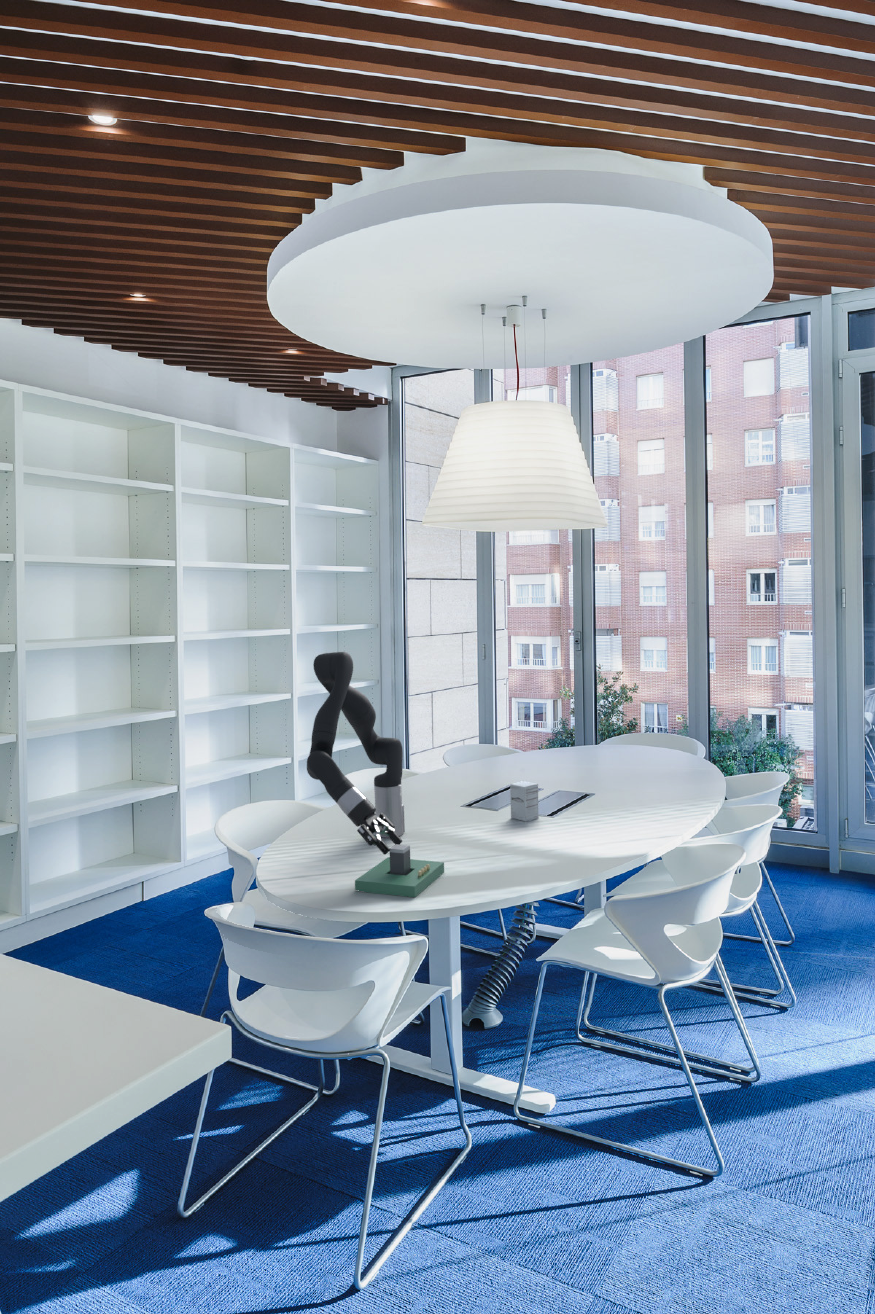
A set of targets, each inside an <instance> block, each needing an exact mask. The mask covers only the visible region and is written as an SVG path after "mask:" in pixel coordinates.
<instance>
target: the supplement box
mask: <svg viewBox="0 0 875 1314" xmlns="http://www.w3.org/2000/svg"><path fill="white" fill-rule="evenodd" d="M509 787H510V819H514V820H518V821H522V822H530V821H533V820H536V819H538V818H539V817H540V815H539V814H540V813H539V784H538V783H536V782H531V781H530V782H529V781H527V780H526V781H525V780H521V781H517V782H513V783H510V786H509Z"/></svg>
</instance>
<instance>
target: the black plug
mask: <svg viewBox="0 0 875 1314" xmlns="http://www.w3.org/2000/svg"><path fill="white" fill-rule="evenodd" d="M389 848H390V851H389V852H388V854H389V857H390V874H396V875H406V876H407V875H408V874H409V873H410V872H411V862H410V859H411V845H408V844H400V845H399V844H396V845H395V844H394V845H393V846H391V847H389Z"/></svg>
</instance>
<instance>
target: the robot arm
mask: <svg viewBox="0 0 875 1314" xmlns="http://www.w3.org/2000/svg"><path fill="white" fill-rule="evenodd" d="M313 670H314V674H315V676H316V678H317V680H318V681H319V683H320V684H321V685H322V687H324V689H325V690H326V691H327V692H328V693H329V694H328V696H327V698H326V700H324V702H323V703H322V704H321V706H320V708H319V710H318V711H317V713H316V715H315V717H314V721H313V726H312V734H311V745H310V749H309V750H310V751H309V755H308V757H307V760H306V772H307V774H308V775H309V776H310V777H311V778H312V779H314V780H316V781H320V783H322V784H323V786H324V788H325V791H326V792H327V794H328V795H329V797H330V798H331V799H332V800H333V801H334V802H335V803H336V804H337V805H338V807H339V808H340V810H341V811H342V812H343V813H344V814H345V815H346V817H347V818H348V819H349V820H351V822H352V823H353V824H354V826H355V827H357V830H356V832H357V833H359V835H360V836H361V837H362V839H363V840H364V841H365V842H366V844H368V846H369V847H371V846H376V848H378V850H379V851H380V852H381V853H382V854H383V855H385V856H386V855H387V854H389V851H390V848H391V847H389V846H388V845H387V844H386V843H385V842H384V840H382V838H384V839H385V838H387V839H389V840H390V841H392V842H393V844H394V845H396V844H399V845H402V843H403V840H402V838H401V837H400V836H402V835H403V834H404V833H405V832H406V831H405V830H406V829H405V806H404V805H403V796H402V795H403V793H402V777H403V756H404V755H403V754H404V753H403V746H402V742H401V741H400V739H398V738H395V737H383V736H379V735H378V734H377V733H376V732H375V729H374V727H375V723H376V719H377V714H376V710H375V708H374V706H373V704H372V703H371V701H370V700H369V698H368V697H367V696H366V695H365V694H363V693H362V692H361V691H359V690H358V689H356V688H355V687H353V686H351V685H350V684H351V681H352V677H353V673H354V660H353V658H352V656H351V655H350V654H349V653H348V652H346V651H337V652H335V651H334V652H325V653H321V654H318V655H317V656H315V658H314V659H313ZM341 712H342V714H343V715H344V717H345V718H346V720H347V721H348V723H349V725H350V726H351V727H352V729H353V731H354V732H355V734H356V736H357V737H358V739H359V742H360V744H361V745H362V747H363V749H364V751H365V753H366V757H368V759H369V761H371V762H372V764H375V765H378V766H379V765H381V766H386V767H385V769H386V770H385V772H384V773H381V774H378V775H376V776H374V778H373V779H374V780H373V786H374V787H373V789H374V804H372V802H371V801H370V800H369V799H368V798H367V797H366V796H365V795H364V793H362V792H361V791H360V789H358V788H357V787H356V786H355V785H354V784H353V783H352V782H351V781H350V780H349V778H348V777H347V776H345V775H344V774H343V772H342V771H341V769H340V768H339V766H338V765H337V763H336V762H335V761H334V759H333V749H334V745H335V741H336V738H337V737H336V736H337V729H338V723H339V719H340V715H341Z"/></svg>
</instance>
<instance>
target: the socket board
mask: <svg viewBox="0 0 875 1314" xmlns="http://www.w3.org/2000/svg"><path fill="white" fill-rule="evenodd" d="M410 862H411V872H410V873H409V874H408V875H407V876H406V875H396V874H390V856H389V857H386V858H384V859H383V860H382V861H380V862H379V863H377V864H376V865H375V866H373V867H372V868H371V869H369V870H367V871H366V872H364V873H363V874H362V875H361V876H359V877H358V878H356V879H355V880H354V891H355V890H359V891H358V892H360V891H364V892H363V893H370V894H379V895H380V894H381V895H387V896H388V895H390V896H398V895H401V896H400V897H407V896H408V897H410V898H416V897H417V896H418V895H419V894H421V893H422V892H423V891H424V890H425V889H427V888H428V887H429V886H430V885H431V884H432V883H434V882H435V881H436V880H437V879H438V878H439V877H441V875H443V874H444V873H445V862H444V861H435V860H425V859H424V860H423V859H413V858H410Z"/></svg>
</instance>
